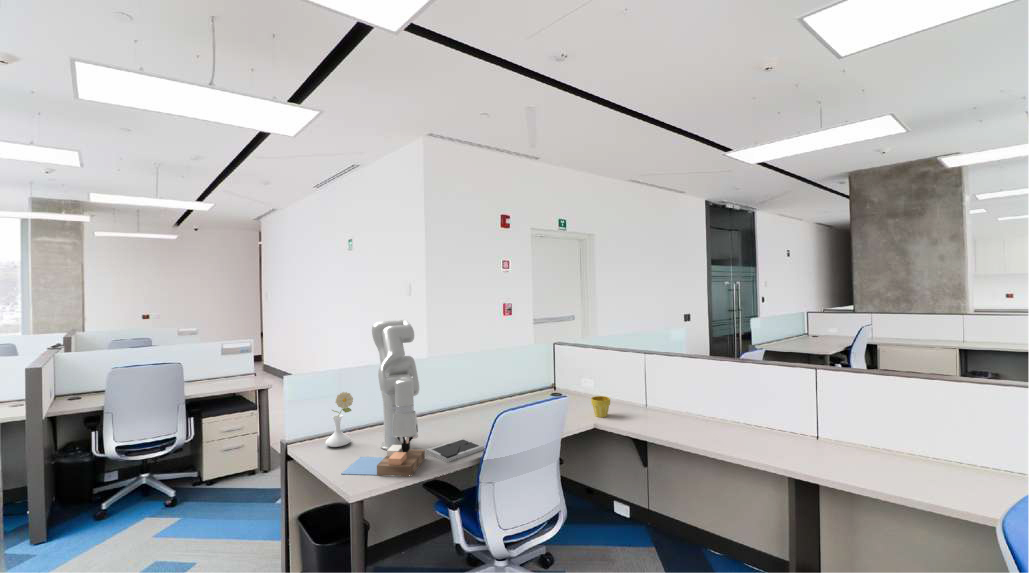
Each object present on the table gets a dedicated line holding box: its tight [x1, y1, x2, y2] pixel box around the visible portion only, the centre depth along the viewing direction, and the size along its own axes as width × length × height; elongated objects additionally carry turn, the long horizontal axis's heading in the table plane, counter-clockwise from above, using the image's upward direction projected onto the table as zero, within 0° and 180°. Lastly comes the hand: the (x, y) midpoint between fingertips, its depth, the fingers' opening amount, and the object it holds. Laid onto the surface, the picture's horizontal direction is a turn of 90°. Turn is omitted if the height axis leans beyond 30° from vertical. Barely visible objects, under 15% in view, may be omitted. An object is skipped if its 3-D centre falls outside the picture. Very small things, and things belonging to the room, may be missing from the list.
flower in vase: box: [325, 391, 354, 448], centre depth 227 cm, size 13×11×25 cm
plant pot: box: [590, 395, 611, 418], centre depth 265 cm, size 10×10×10 cm
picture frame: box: [426, 437, 485, 463], centre depth 216 cm, size 16×3×21 cm
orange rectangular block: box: [388, 452, 407, 465], centre depth 195 cm, size 7×5×2 cm
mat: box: [341, 456, 386, 476], centre depth 201 cm, size 18×15×1 cm
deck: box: [376, 448, 426, 477], centre depth 199 cm, size 18×14×4 cm
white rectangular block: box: [386, 445, 403, 457], centre depth 203 cm, size 7×5×2 cm
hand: (405, 451), depth 203 cm, fingers closed
